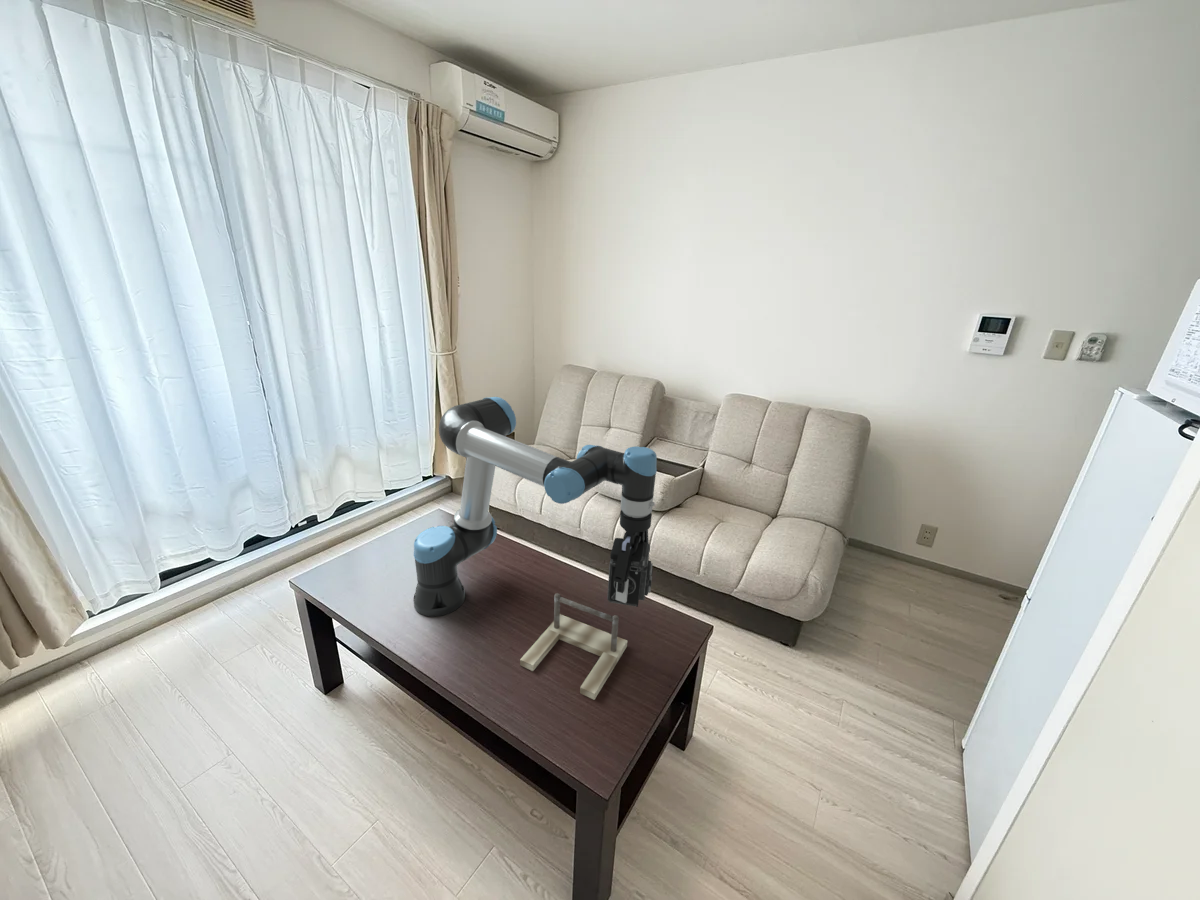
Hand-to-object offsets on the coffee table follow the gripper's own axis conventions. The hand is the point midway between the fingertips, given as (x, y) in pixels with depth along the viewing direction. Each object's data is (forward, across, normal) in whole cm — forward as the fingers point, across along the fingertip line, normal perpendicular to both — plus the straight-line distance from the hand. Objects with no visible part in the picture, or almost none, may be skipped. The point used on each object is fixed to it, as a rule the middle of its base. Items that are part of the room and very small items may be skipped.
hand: (629, 587), depth 117 cm
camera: (+3, 0, 0) cm, 3 cm away
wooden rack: (+23, -6, +12) cm, 26 cm away
